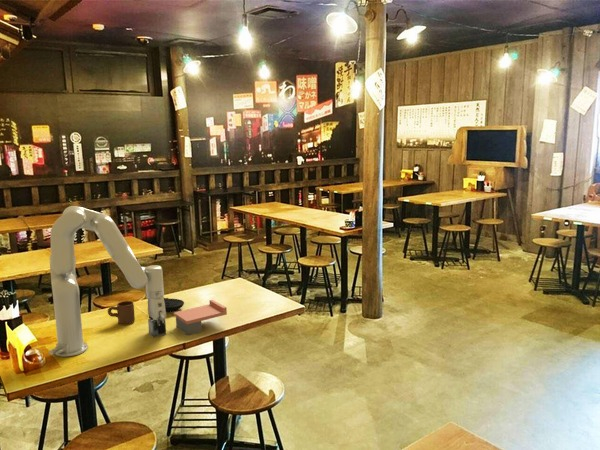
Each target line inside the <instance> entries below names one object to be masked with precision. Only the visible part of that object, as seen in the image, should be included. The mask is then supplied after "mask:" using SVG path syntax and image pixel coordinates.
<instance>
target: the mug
mask: <svg viewBox="0 0 600 450" xmlns="http://www.w3.org/2000/svg"><path fill="white" fill-rule="evenodd" d="M113 310H114V311H116V312H112V311H113ZM107 314H108V316H110V317H112V318H115V317H116V318H117V323H118V324H119V325H121V326H122V325H124V326H125V325H131V324H133V323H135V320H136V319H135V318H136V317H135V304H134V302H133V301H131V300H126V301H120V302H118V303H117V304H116V306H114V305H113V306H110V307H109V308H107Z"/></svg>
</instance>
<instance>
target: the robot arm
mask: <svg viewBox="0 0 600 450" xmlns="http://www.w3.org/2000/svg"><path fill="white" fill-rule="evenodd" d="M80 229H83V230H87V231H91V232H95V234H96V236H97V238H98V239H99V241H100V242H101V243H102V245H103V247H104V248H105V250H106V251H107V253H108V255H109V256H110V258H111V259H112V260H113V262H114V263H115V264H116V265H117V266H118V268H119V270H120V271H121V272H122V273H123V275H124V277H125V279H126V281H127V282H128V284H129V285H130V287H132V288H133V289H135V290H141V289H143V288H144V287H145V296H146V297H145V298H146V299H147V313H148V319H152V318H153V319H154V320H156V321H157V323H158V325H157V327H158V334H162V333H165V323H166V319H167V312H166V310H165V302H164V298H165V292H164V291H165V289H164V275H163V274H164V273H163V267H162V266H161V265H158V264H157V265H156V264H155V265H148V266H142V265H141V264H140V263H139V261H138V259H137V258H136V256H135V254H134V253H133V250H132V248H131V247H130V245H129V243H128V242H127V241H126V239H125V238H124V236H123V234H122V232H121V231H120V229H119V228H118V226H117V224H116V222H115V221H114V220H113V219H112V218H111V217H110V216H109V215H108V214H105V213H104V212H103V213H102V212H99V211H95V210H91V209H88V208H85V207H82V206H78V205H70V206H68V207H66V208H64V211H63V212H62V215H61V216H59V217H58V218H57V219H56V220H55V221H54V223H53V225H52V227H51V229H50V237H49V238H50V256H49V269H50V270H49V271H50V281H51V282H50V283H51V291H52V299H53V300H52V301H53V307H54V309H53V310H54V316H55V327H56V337H57V343H56V344H55V347H54V348H53V349H50V350H49V351H48V353H49V355H50V356H53V355H55V356H57V357H62V358H63V357H64V358H66V357H74V356H78V355H80V354H82V353H84V352H86V351H87V350H88V348H89V347H88V346H89V345H88V344H87V342H84V337H83V336H84V335H83V326H82V324H83V323H82V314H81V313H82V312H81V304H80V303H81V301H80V287H79V284H78V281H77V277H76V264H77V258H76V254H75V253H76V252H75V234H76V233H77V231H78V230H80ZM163 297H164V298H163ZM160 317H161V318H160ZM158 318H159V319H158ZM159 320H161V321H160V322H159Z"/></svg>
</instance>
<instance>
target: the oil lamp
mask: <svg viewBox="0 0 600 450" xmlns="http://www.w3.org/2000/svg"><path fill="white" fill-rule="evenodd" d="M163 298H164V302H165V310H166V314H167V313H169V314H171V313H174V312H178V310H179V311H180V309H181V308H182V307H183V306H184V305H185V301H184V300H182V299H178V298H169V297H165V296H164V297H163Z"/></svg>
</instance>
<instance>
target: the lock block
mask: <svg viewBox="0 0 600 450" xmlns="http://www.w3.org/2000/svg"><path fill="white" fill-rule="evenodd" d="M160 318H161V317H160ZM158 319H159V318H158ZM147 320H148V321H147V323H148V334H149V336H151V337H152V338H157V337H161V336H164V335H167V329H166V328H167V324H166V322H165V333H162V334H158V327H157V325H158V323H157V321H156V320H154V319H153V318H152V319H149V318H148V319H147ZM160 321H161V320H159V322H160Z"/></svg>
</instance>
